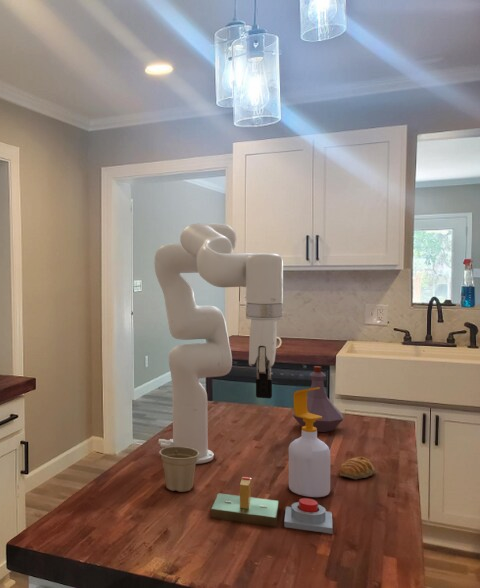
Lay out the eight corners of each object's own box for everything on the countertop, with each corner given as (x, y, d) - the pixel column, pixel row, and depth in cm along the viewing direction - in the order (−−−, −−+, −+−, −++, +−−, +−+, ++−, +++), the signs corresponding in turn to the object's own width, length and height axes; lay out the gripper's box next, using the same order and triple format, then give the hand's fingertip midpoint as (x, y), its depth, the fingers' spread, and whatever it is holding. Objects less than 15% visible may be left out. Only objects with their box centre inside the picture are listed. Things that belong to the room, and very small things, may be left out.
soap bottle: (311, 501, 129) (311, 392, 128) (280, 487, 137) (280, 385, 136) (338, 493, 133) (339, 387, 132) (307, 480, 141) (307, 381, 140)
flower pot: (175, 477, 145) (175, 443, 145) (207, 487, 138) (206, 451, 138) (151, 487, 139) (151, 452, 138) (183, 498, 132) (183, 461, 131)
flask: (303, 418, 199) (303, 361, 198) (353, 427, 188) (353, 366, 187) (282, 428, 187) (281, 367, 186) (333, 438, 176) (333, 373, 175)
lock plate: (211, 518, 121) (211, 507, 121) (218, 501, 130) (217, 492, 130) (276, 527, 117) (276, 516, 116) (278, 509, 125) (278, 499, 125)
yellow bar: (248, 509, 121) (248, 484, 120) (239, 507, 121) (239, 483, 121) (251, 500, 125) (250, 477, 125) (242, 499, 125) (242, 476, 125)
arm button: (298, 512, 117) (298, 503, 117) (299, 505, 121) (299, 497, 121) (317, 514, 116) (317, 506, 116) (317, 507, 119) (317, 499, 119)
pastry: (358, 483, 139) (358, 467, 139) (331, 475, 145) (331, 460, 144) (376, 474, 145) (376, 459, 145) (350, 467, 150) (350, 452, 150)
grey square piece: (284, 527, 116) (284, 512, 116) (286, 511, 124) (286, 497, 124) (332, 534, 113) (332, 519, 113) (331, 517, 121) (331, 503, 120)
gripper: (249, 308, 131) (249, 388, 132) (241, 314, 117) (241, 403, 118) (284, 309, 128) (284, 391, 129) (280, 315, 114) (280, 406, 115)
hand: (264, 397), depth 124 cm, fingers closed
